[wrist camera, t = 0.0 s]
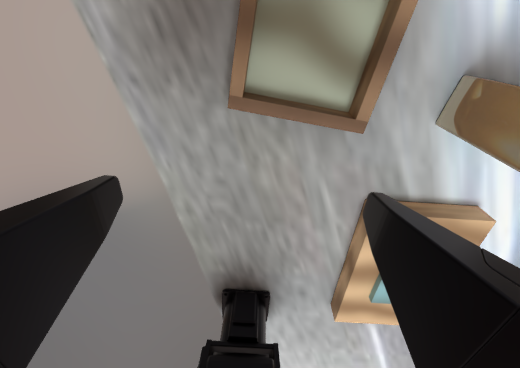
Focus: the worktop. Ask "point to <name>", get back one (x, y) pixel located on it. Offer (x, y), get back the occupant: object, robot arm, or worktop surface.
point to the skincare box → (486, 117)
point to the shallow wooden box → (366, 272)
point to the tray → (316, 58)
